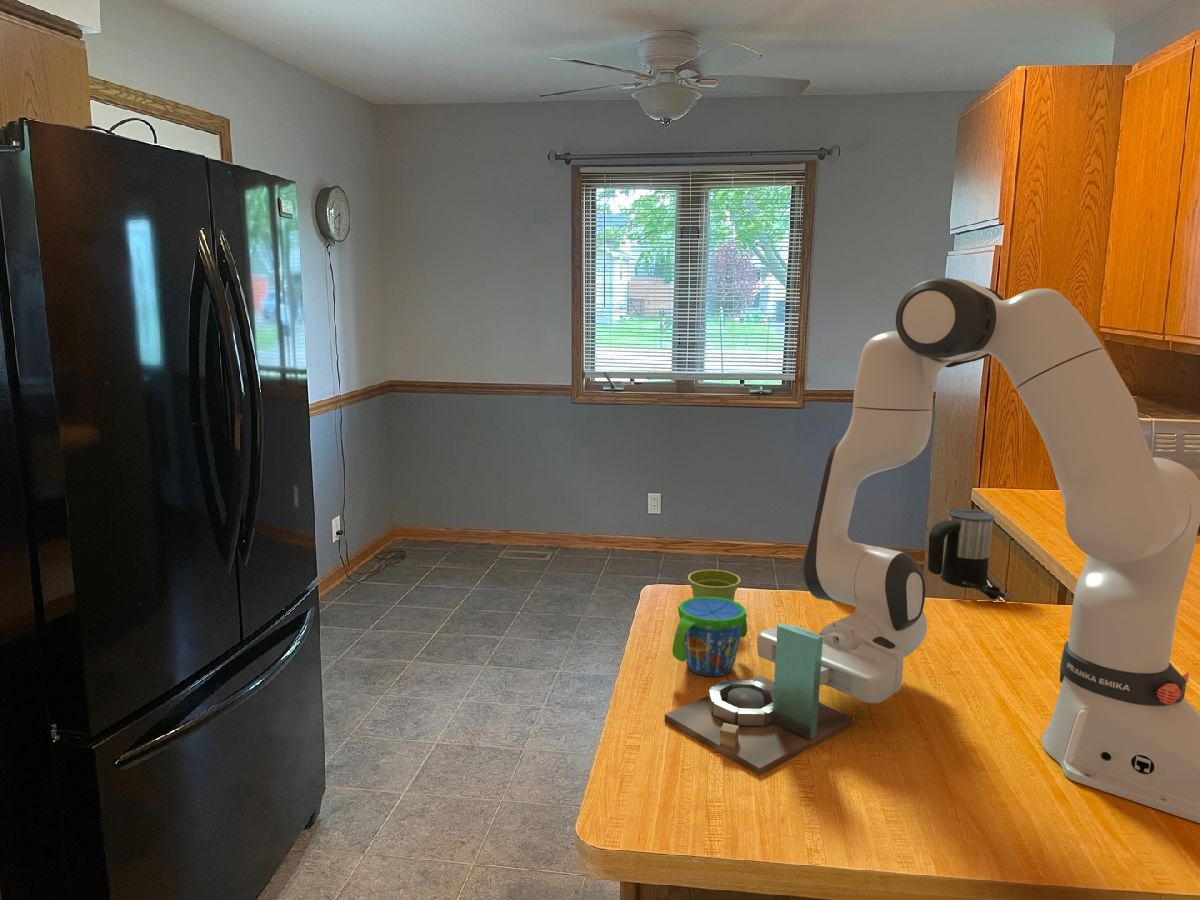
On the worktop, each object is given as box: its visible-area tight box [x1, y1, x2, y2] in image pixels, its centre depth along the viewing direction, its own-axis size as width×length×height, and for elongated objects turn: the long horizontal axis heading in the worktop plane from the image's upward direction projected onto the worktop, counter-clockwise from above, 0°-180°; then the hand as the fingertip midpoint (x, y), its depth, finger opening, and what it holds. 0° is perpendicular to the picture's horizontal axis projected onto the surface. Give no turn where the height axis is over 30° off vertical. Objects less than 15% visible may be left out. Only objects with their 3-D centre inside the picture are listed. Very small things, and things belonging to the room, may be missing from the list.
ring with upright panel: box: [708, 622, 823, 739], centre depth 114 cm, size 13×13×14 cm
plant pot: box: [687, 569, 741, 601], centre depth 150 cm, size 9×9×9 cm
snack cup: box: [671, 597, 748, 677], centre depth 132 cm, size 16×10×10 cm
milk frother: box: [927, 508, 1006, 601], centre depth 169 cm, size 14×16×15 cm
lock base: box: [664, 674, 854, 776], centre depth 115 cm, size 17×20×3 cm
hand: (788, 677), depth 112 cm, fingers closed
